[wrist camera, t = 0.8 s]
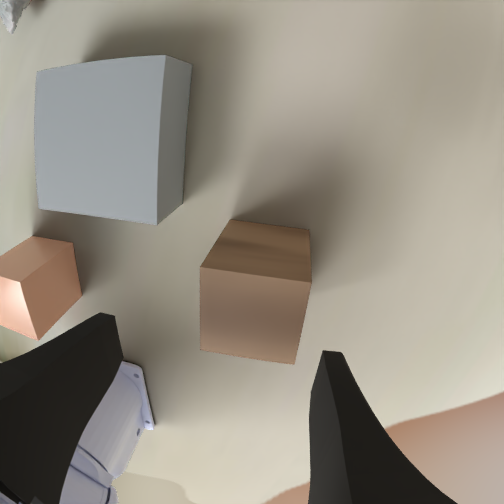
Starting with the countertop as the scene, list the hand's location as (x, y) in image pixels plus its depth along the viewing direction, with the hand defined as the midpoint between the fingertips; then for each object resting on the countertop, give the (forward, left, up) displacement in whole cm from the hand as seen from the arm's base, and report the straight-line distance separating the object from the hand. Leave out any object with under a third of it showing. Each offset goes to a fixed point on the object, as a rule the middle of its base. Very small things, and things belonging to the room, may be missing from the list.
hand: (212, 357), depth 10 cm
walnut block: (-1, -1, -10) cm, 10 cm away
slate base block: (+6, +8, -10) cm, 14 cm away
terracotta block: (-4, +15, -10) cm, 18 cm away
